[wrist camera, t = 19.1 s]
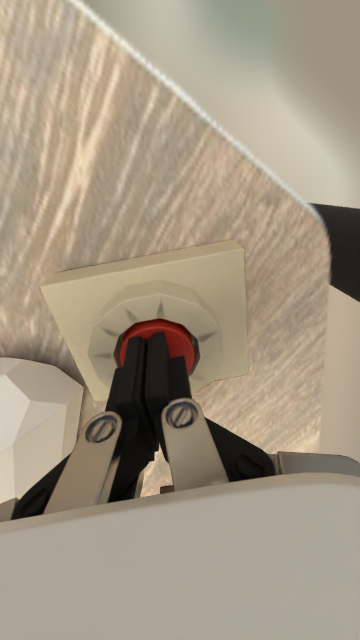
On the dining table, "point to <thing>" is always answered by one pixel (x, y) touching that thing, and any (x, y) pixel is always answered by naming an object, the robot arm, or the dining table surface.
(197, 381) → the alarm block
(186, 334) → the alarm button
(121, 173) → the dining table surface
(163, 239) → the dining table surface
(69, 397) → the crystal
